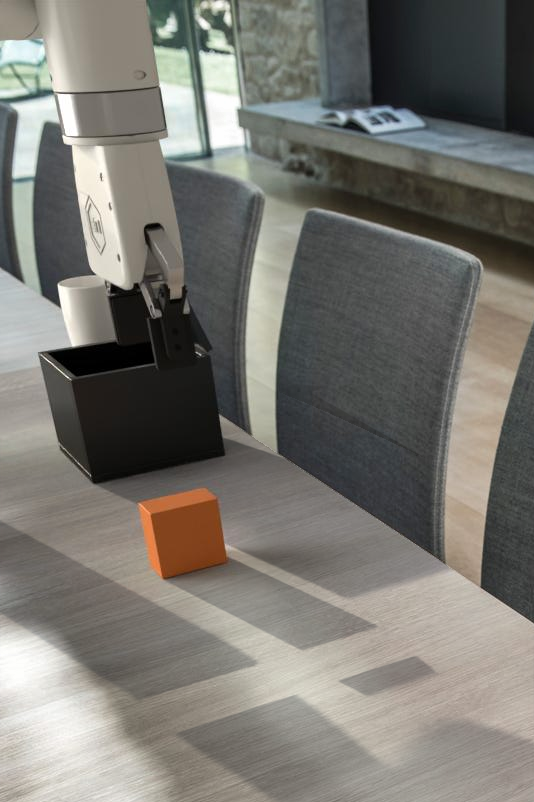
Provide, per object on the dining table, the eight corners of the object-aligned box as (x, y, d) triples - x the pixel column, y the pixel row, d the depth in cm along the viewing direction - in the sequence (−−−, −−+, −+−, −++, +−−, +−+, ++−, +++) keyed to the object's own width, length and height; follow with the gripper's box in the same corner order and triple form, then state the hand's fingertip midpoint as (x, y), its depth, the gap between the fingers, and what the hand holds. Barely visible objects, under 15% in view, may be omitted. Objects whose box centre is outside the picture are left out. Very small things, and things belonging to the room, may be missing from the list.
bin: (93, 483, 119) (70, 379, 114) (60, 450, 128) (37, 352, 123) (225, 455, 126) (210, 355, 120) (185, 424, 135) (169, 330, 129)
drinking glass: (111, 398, 144) (86, 273, 136) (152, 405, 141) (129, 277, 133) (71, 414, 139) (43, 285, 131) (114, 421, 136) (88, 290, 128)
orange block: (162, 579, 100) (150, 514, 97) (150, 566, 102) (137, 502, 99) (227, 562, 102) (217, 498, 99) (214, 549, 105) (204, 487, 101)
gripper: (30, 115, 89) (79, 341, 98) (97, 130, 76) (146, 387, 85) (125, 108, 92) (164, 327, 101) (204, 120, 80) (240, 369, 89)
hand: (156, 354), depth 93 cm, fingers open, 9 cm apart
